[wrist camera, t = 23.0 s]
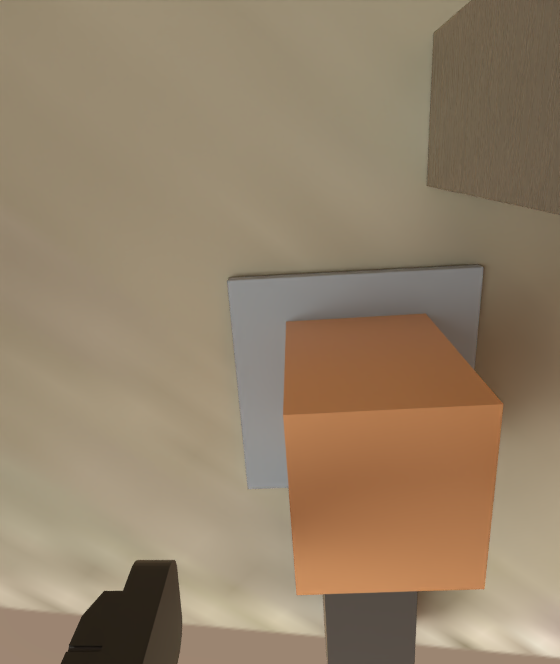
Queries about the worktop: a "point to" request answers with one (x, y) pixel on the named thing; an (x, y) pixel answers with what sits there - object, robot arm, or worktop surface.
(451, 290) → the mat
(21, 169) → the worktop surface
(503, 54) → the block
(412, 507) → the plug
